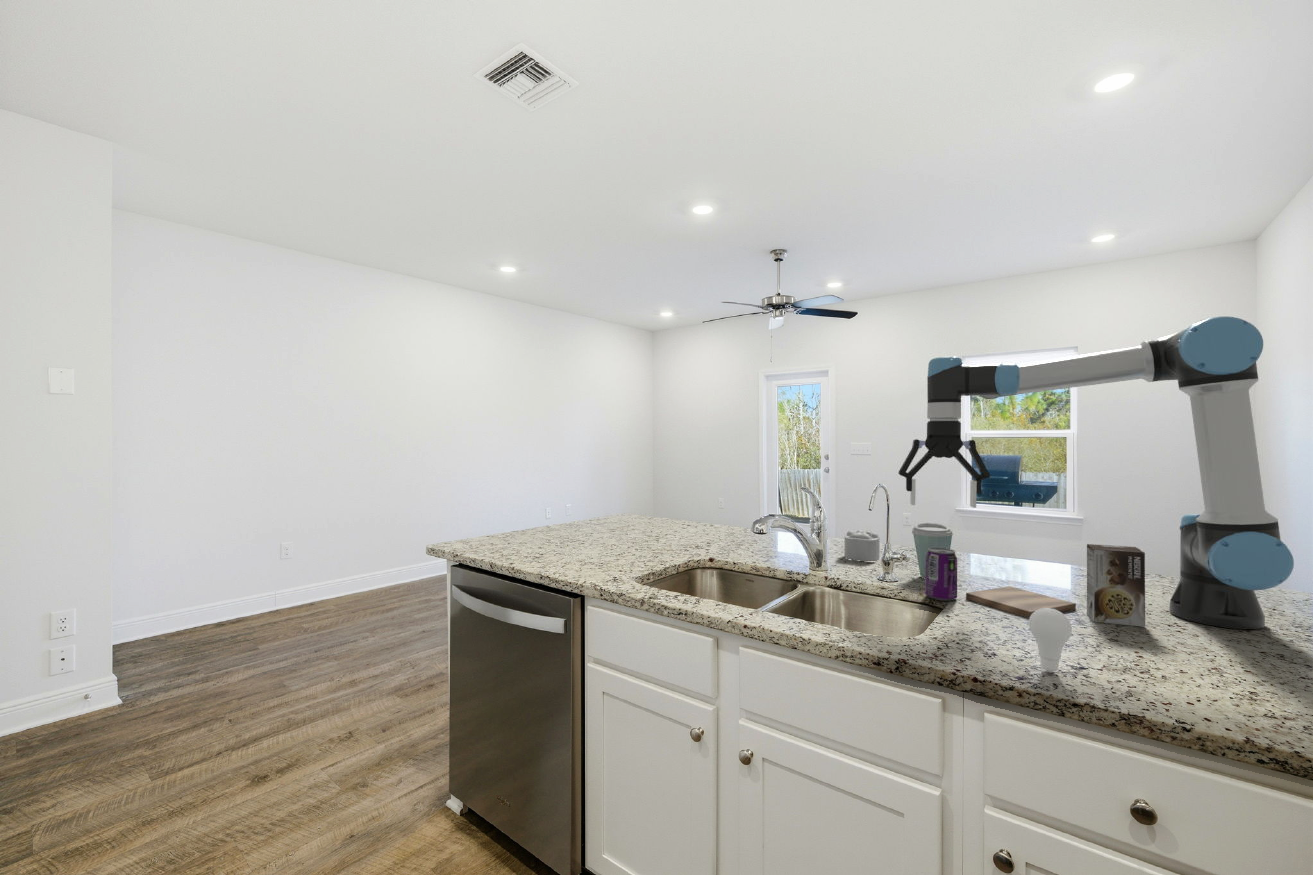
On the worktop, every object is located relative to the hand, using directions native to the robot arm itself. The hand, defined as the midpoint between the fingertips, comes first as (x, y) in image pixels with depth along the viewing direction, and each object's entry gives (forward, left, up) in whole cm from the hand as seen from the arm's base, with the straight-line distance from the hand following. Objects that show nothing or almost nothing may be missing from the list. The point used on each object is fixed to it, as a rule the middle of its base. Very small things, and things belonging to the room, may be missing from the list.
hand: (942, 505), depth 141 cm
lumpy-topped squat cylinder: (+43, -15, -23) cm, 51 cm away
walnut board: (-11, -13, -23) cm, 29 cm away
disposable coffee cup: (+15, -14, -23) cm, 31 cm away
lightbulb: (-39, +20, -23) cm, 49 cm away
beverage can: (0, 0, -23) cm, 23 cm away
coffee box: (-27, -21, -23) cm, 41 cm away
